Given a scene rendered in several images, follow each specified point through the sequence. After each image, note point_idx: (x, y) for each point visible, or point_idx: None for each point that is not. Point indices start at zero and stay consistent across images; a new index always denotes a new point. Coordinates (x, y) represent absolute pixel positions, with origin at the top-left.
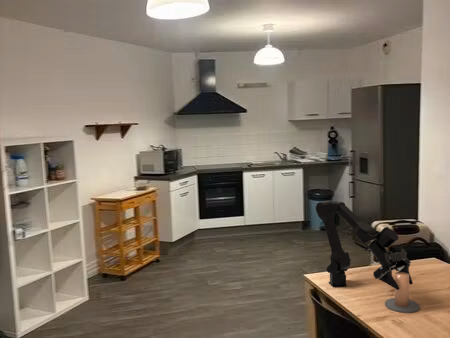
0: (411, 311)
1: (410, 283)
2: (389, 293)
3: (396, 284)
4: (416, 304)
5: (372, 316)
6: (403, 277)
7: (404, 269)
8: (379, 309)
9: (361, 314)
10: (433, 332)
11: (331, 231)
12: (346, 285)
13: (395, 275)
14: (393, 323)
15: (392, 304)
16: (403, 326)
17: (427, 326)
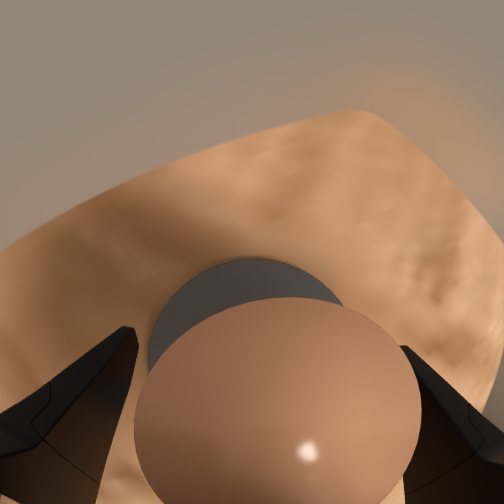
0: (306, 275)
1: (135, 349)
2: (125, 487)
3: (431, 375)
4: (192, 297)
5: (459, 380)
6: (386, 348)
7: (33, 479)
8: None
9: None
10: (395, 134)
11: None
12: None
13: (362, 498)
14: (455, 276)
15: None
16: (446, 232)
17: (375, 162)
